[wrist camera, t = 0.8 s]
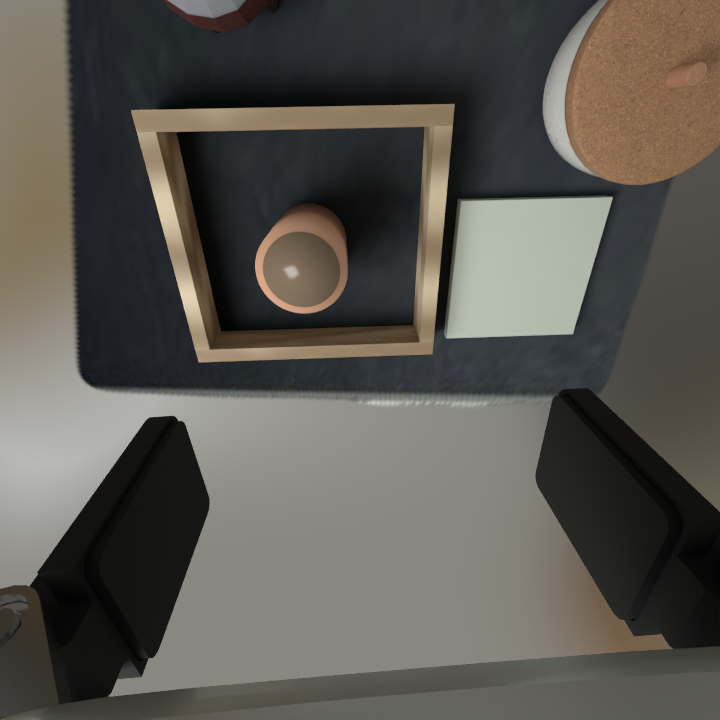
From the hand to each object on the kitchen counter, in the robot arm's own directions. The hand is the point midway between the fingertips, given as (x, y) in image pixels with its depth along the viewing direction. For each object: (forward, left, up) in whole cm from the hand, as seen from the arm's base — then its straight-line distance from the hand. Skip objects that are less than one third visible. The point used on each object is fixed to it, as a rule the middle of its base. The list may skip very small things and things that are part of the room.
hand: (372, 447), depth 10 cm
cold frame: (+1, -3, -25) cm, 26 cm away
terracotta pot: (+1, -3, -25) cm, 26 cm away
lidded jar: (-9, +18, -26) cm, 32 cm away
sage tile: (+4, +15, -25) cm, 29 cm away
